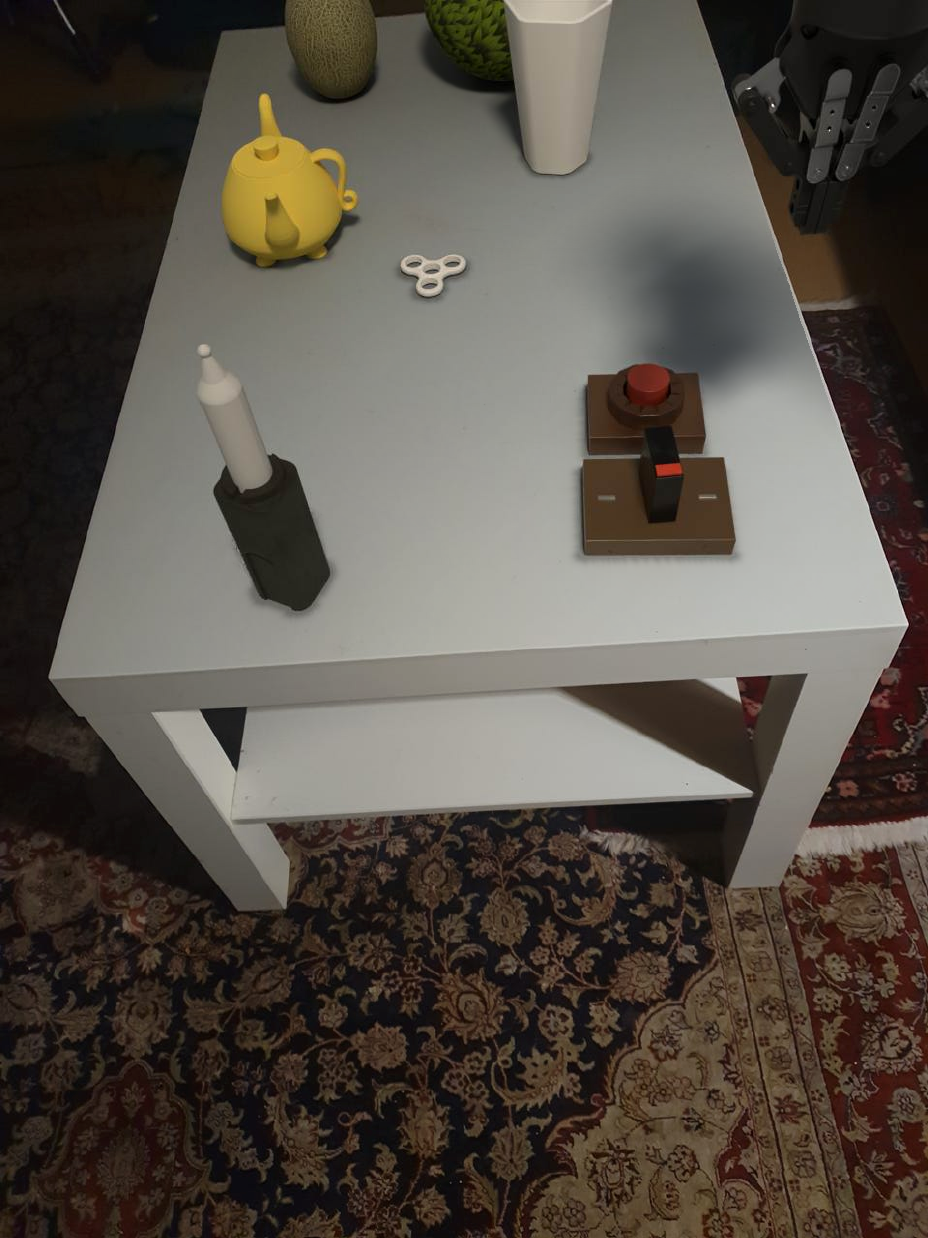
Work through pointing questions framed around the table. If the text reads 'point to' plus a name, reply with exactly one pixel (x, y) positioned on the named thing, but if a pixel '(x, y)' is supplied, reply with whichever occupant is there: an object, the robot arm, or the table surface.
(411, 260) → the fidget spinner
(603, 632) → the table surface
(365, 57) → the fruit
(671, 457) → the thumbturn
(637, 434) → the block
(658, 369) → the button
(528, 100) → the cup
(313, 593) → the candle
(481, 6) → the decorative ball
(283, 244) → the teapot
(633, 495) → the plate
